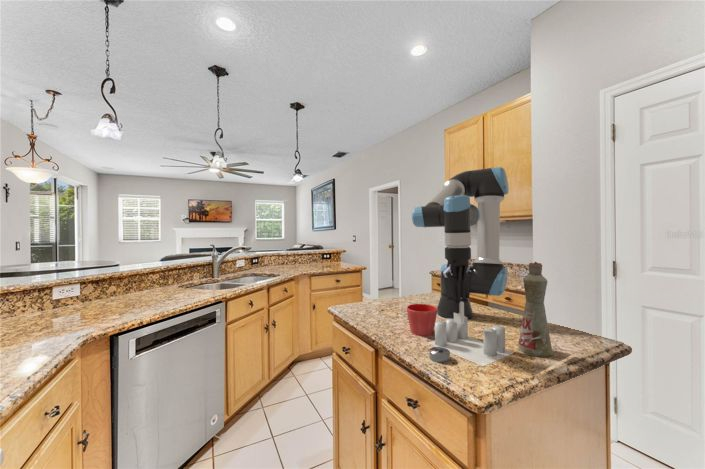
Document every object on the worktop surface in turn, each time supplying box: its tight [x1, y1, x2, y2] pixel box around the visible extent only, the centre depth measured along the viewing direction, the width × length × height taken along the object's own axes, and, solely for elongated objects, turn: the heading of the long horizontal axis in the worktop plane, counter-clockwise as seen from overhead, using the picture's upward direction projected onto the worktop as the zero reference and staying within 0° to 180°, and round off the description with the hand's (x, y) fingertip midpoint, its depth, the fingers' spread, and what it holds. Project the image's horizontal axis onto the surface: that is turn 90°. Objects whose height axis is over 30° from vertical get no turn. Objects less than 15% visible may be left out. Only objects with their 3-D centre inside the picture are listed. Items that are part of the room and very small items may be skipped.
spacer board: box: [427, 316, 515, 367], centre depth 90 cm, size 16×20×8 cm
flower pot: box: [406, 303, 438, 337], centre depth 104 cm, size 11×11×10 cm
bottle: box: [517, 261, 554, 358], centre depth 87 cm, size 9×9×28 cm
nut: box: [429, 346, 451, 364], centre depth 82 cm, size 6×6×3 cm
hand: (458, 322), depth 88 cm, fingers closed
